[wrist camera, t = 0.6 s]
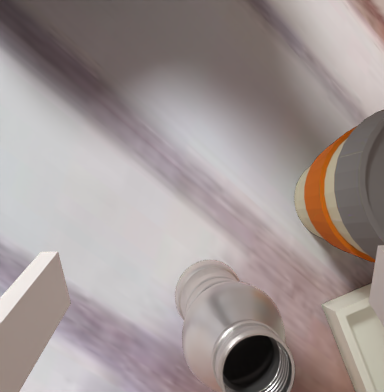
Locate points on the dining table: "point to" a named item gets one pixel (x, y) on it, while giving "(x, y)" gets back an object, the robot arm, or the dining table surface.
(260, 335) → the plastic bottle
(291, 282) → the dining table surface
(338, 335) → the tray
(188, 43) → the dining table surface
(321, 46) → the dining table surface
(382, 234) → the reusable coffee cup
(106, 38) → the dining table surface
